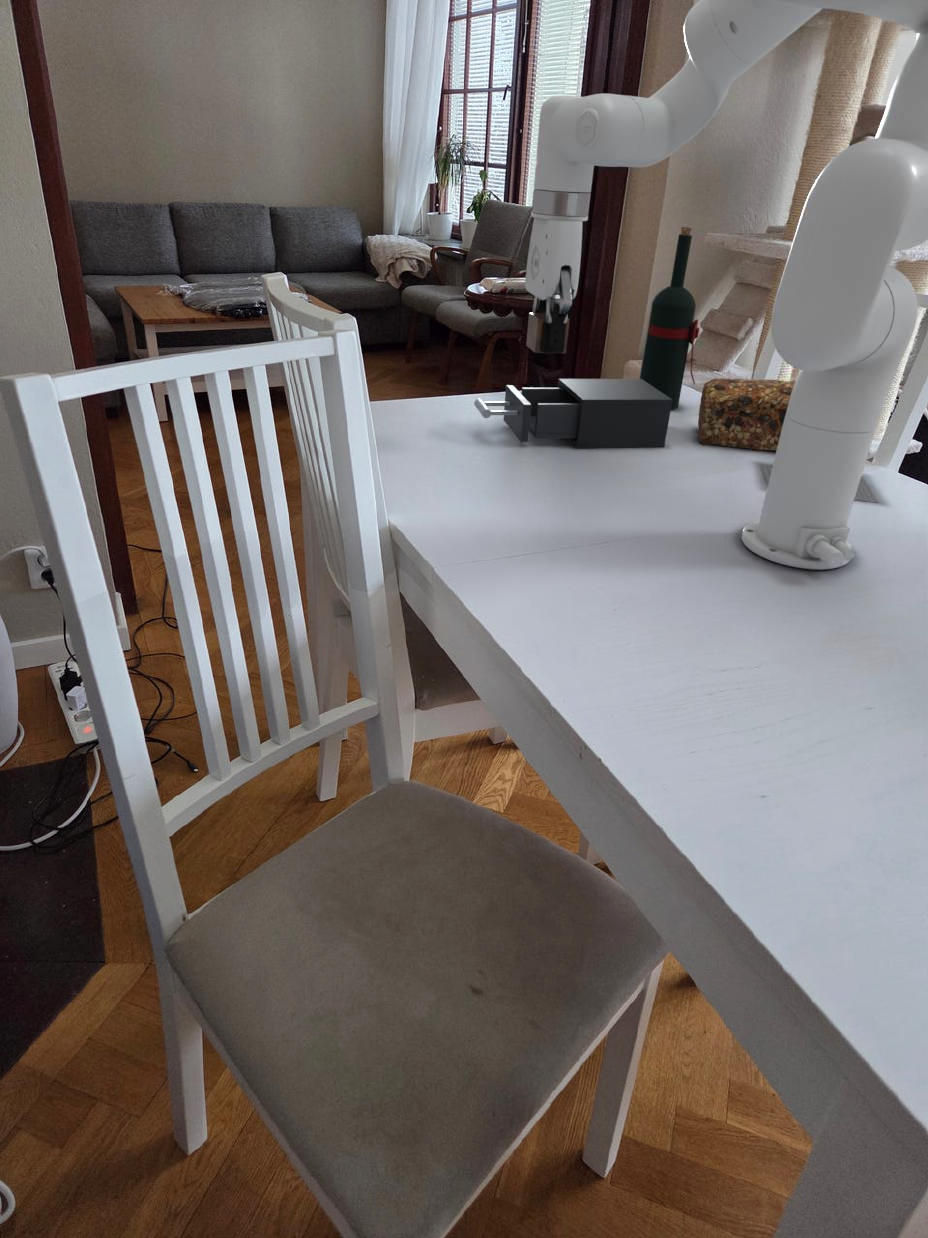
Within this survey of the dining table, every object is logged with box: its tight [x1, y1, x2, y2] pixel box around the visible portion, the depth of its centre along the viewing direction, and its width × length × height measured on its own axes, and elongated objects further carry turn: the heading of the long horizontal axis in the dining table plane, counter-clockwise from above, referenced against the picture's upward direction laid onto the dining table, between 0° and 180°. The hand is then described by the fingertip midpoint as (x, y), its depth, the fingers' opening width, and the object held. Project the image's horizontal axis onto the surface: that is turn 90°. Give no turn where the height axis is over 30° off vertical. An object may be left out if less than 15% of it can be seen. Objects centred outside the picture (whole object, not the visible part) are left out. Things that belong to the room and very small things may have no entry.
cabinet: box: [557, 378, 672, 449], centre depth 133 cm, size 15×13×8 cm
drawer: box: [473, 384, 581, 443], centre depth 131 cm, size 19×11×6 cm, turn 101°
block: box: [525, 312, 570, 354], centre depth 117 cm, size 5×5×5 cm
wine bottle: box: [638, 225, 700, 411], centre depth 145 cm, size 8×10×30 cm
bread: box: [697, 377, 796, 452], centre depth 134 cm, size 19×11×10 cm, turn 77°
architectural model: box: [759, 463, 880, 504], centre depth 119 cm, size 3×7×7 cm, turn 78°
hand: (546, 346), depth 118 cm, fingers closed on block, 4 cm apart
